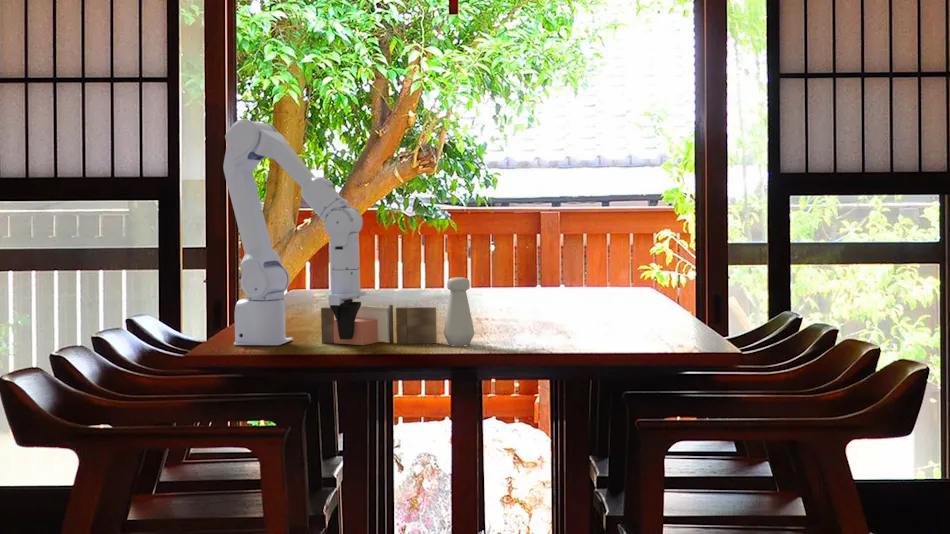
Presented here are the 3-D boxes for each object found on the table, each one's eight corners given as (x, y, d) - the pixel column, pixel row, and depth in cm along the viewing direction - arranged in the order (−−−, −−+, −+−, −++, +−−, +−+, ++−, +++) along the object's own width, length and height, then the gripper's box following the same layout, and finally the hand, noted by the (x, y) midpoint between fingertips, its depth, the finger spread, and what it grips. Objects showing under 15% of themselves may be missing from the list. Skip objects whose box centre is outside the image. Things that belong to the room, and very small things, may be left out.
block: (334, 343, 185) (333, 320, 185) (349, 340, 189) (348, 318, 189) (363, 345, 182) (362, 322, 181) (377, 342, 186) (377, 319, 186)
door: (344, 338, 191) (343, 305, 190) (347, 337, 192) (347, 304, 191) (387, 341, 185) (386, 307, 184) (390, 340, 186) (390, 307, 185)
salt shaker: (470, 347, 177) (469, 278, 176) (441, 346, 178) (440, 278, 178) (477, 342, 183) (476, 276, 182) (448, 342, 184) (447, 276, 183)
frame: (321, 342, 186) (320, 305, 186) (325, 341, 188) (324, 304, 188) (435, 343, 182) (434, 305, 182) (437, 342, 184) (436, 304, 184)
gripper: (353, 271, 174) (355, 344, 175) (375, 266, 188) (376, 334, 189) (317, 271, 175) (319, 343, 176) (341, 267, 189) (343, 333, 190)
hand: (346, 338), depth 182 cm, fingers closed, pressing on block
